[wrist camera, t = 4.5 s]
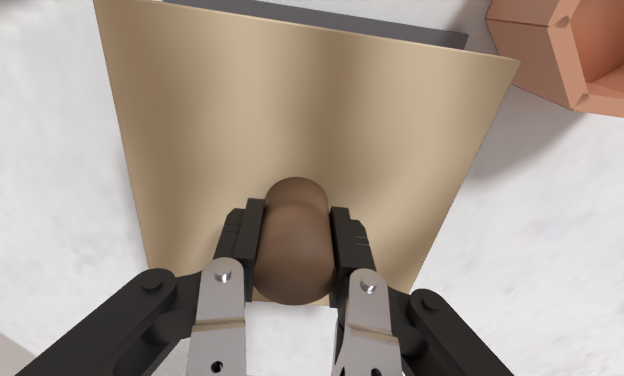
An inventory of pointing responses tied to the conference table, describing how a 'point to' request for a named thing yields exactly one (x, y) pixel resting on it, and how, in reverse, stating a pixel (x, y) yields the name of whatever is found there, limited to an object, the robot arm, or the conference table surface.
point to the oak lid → (291, 137)
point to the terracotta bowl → (564, 50)
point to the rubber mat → (332, 21)
